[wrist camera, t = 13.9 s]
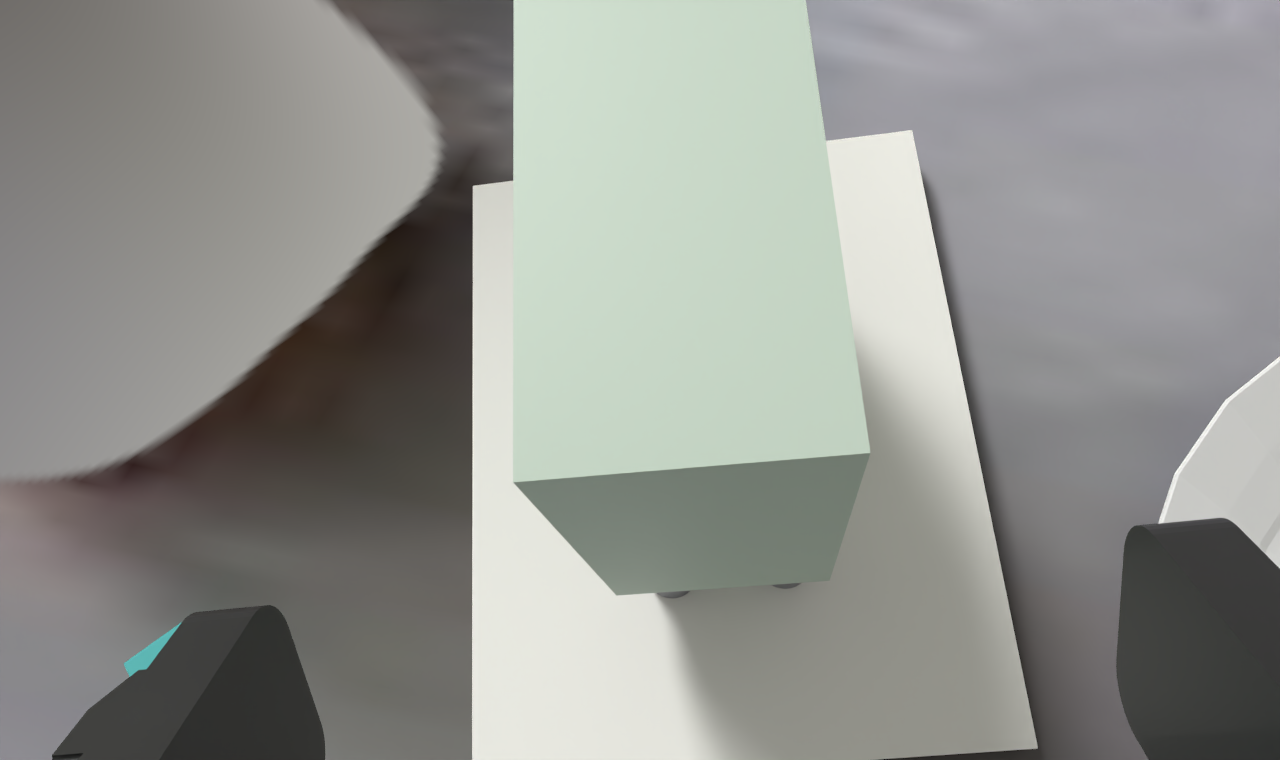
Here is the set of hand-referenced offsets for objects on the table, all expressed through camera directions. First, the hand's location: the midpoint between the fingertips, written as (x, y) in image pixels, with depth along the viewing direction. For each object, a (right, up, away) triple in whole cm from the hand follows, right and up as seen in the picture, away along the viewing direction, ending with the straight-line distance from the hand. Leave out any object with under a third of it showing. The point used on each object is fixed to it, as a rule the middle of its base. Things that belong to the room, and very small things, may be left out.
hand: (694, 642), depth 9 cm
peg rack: (+2, +1, +19) cm, 20 cm away
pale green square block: (+1, +2, +15) cm, 16 cm away
